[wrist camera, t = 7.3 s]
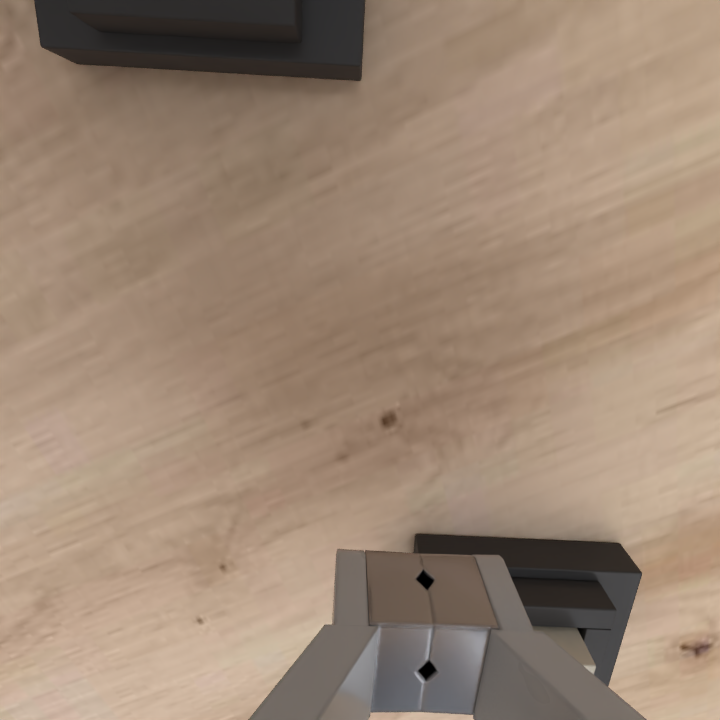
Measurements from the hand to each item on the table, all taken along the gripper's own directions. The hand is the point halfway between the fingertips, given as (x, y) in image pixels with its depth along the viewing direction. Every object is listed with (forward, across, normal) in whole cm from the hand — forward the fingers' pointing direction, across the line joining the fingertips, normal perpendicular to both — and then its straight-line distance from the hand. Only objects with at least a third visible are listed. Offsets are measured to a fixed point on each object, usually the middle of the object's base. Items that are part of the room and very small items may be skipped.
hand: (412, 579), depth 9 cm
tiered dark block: (+14, -8, +14) cm, 21 cm away
